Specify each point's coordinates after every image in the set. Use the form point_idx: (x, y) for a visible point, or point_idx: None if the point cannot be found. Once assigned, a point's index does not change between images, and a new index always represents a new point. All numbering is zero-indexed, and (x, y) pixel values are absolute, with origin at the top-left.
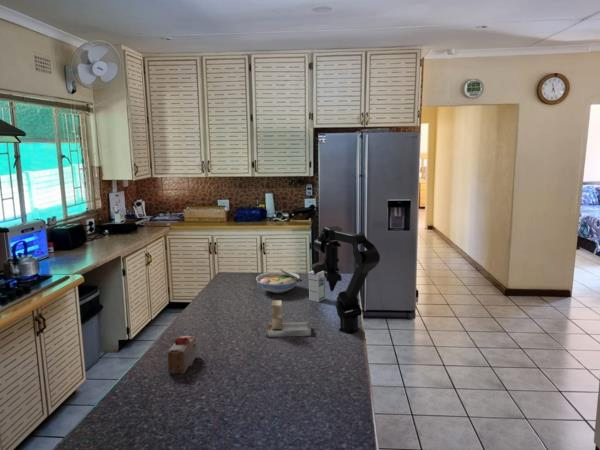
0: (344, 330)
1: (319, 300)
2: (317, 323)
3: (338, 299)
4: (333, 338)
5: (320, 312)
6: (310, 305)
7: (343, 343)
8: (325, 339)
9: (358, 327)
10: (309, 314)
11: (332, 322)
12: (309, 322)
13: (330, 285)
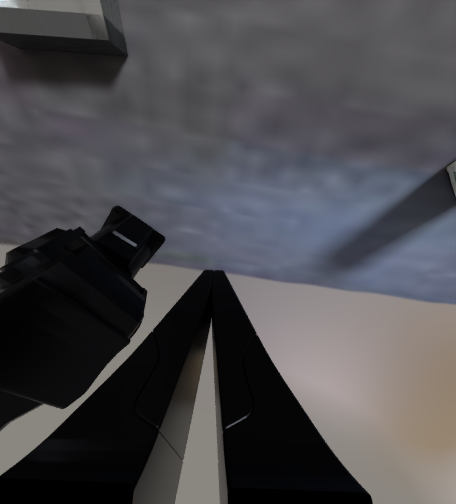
0: (109, 223)
1: (453, 174)
2: (185, 118)
3: (3, 291)
4: (39, 171)
5: (315, 157)
6: (438, 111)
7: (13, 201)
8: (12, 133)
9: (143, 265)
10: (313, 82)
11: (195, 194)
12: (99, 35)
13: (164, 328)
